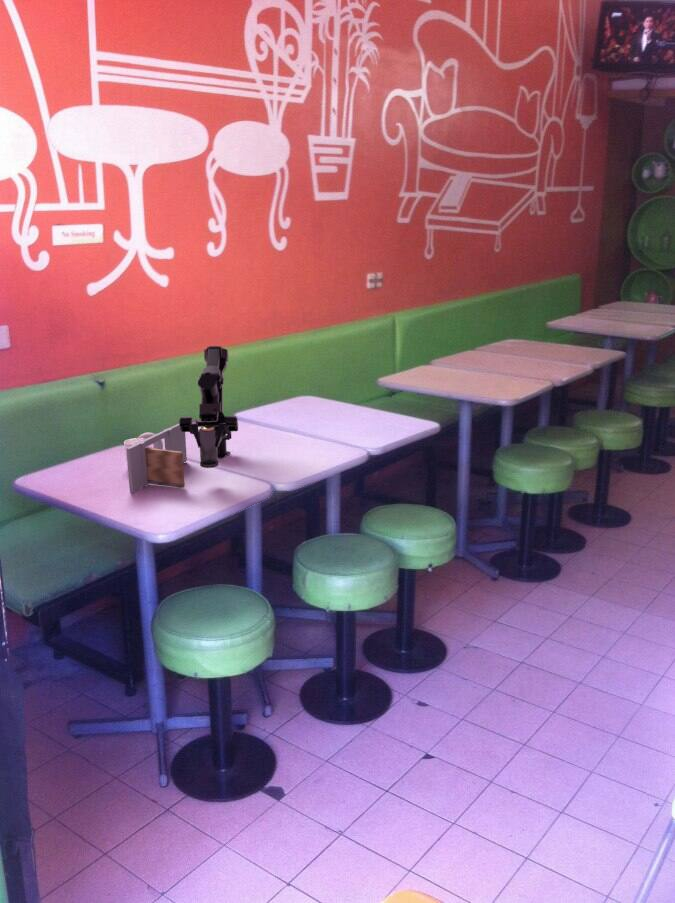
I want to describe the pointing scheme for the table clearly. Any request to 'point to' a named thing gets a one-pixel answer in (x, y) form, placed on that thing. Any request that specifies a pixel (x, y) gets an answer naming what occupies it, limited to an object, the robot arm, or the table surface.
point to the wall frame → (138, 455)
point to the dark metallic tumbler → (208, 447)
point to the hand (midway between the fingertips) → (208, 447)
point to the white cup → (131, 442)
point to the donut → (156, 445)
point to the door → (165, 467)
